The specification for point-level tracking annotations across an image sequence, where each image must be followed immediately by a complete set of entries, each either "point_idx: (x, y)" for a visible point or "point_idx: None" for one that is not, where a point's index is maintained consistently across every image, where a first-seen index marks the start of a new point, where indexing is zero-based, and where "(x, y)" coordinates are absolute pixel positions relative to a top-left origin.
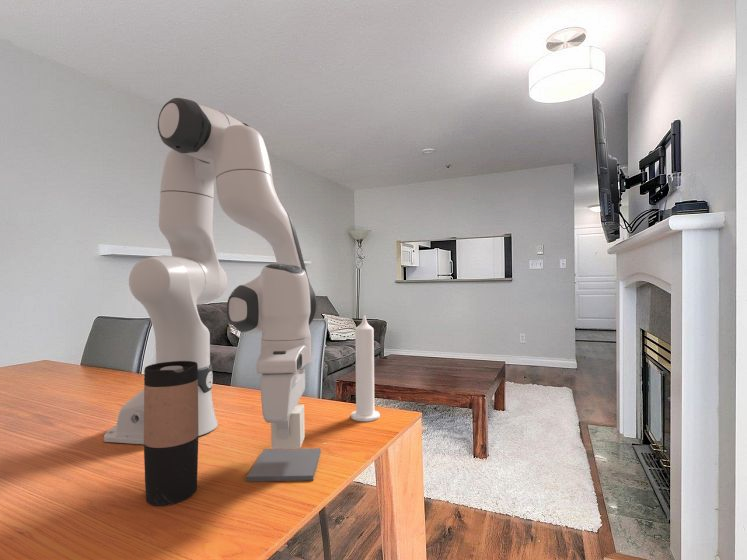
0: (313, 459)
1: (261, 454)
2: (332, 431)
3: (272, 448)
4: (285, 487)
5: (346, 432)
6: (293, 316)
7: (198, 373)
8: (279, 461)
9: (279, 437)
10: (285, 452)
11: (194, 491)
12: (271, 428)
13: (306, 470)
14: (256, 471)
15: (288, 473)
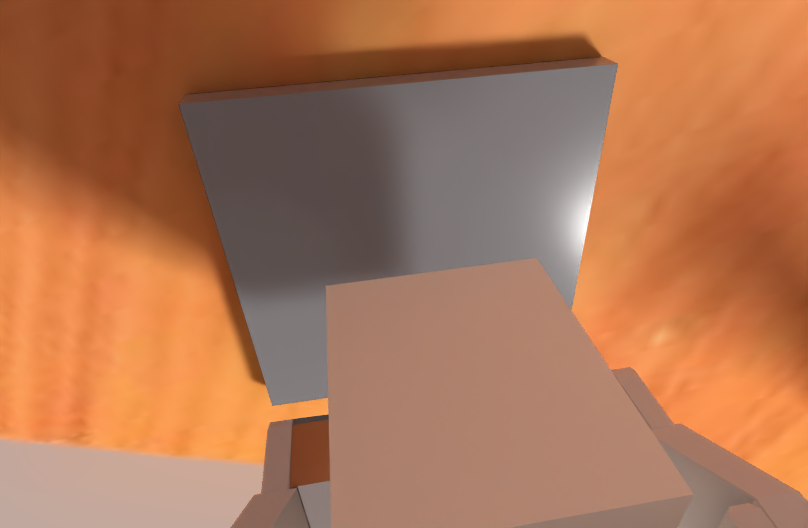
0: None
1: (525, 81)
2: (795, 333)
3: (326, 294)
4: (183, 312)
5: (754, 384)
6: None
7: None
8: (413, 230)
9: (268, 434)
10: (535, 223)
11: None
12: (331, 408)
13: (316, 373)
14: (263, 144)
15: (272, 315)
